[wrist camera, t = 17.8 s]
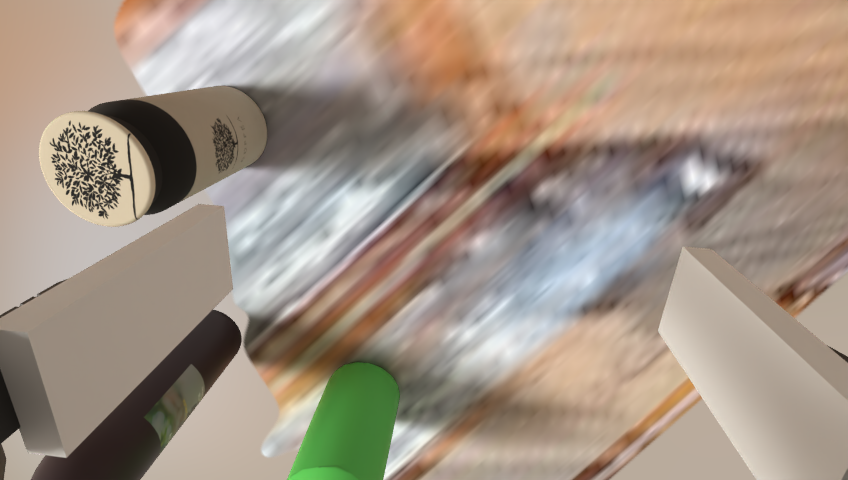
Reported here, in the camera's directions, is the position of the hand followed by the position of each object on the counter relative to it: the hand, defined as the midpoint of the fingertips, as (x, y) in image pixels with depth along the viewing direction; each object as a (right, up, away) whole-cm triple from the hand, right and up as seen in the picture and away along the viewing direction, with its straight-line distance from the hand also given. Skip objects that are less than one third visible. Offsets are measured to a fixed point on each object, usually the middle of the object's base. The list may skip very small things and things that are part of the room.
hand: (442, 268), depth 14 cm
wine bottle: (-26, -10, +42) cm, 51 cm away
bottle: (-8, -17, +43) cm, 47 cm away
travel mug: (-20, +12, +33) cm, 40 cm away
